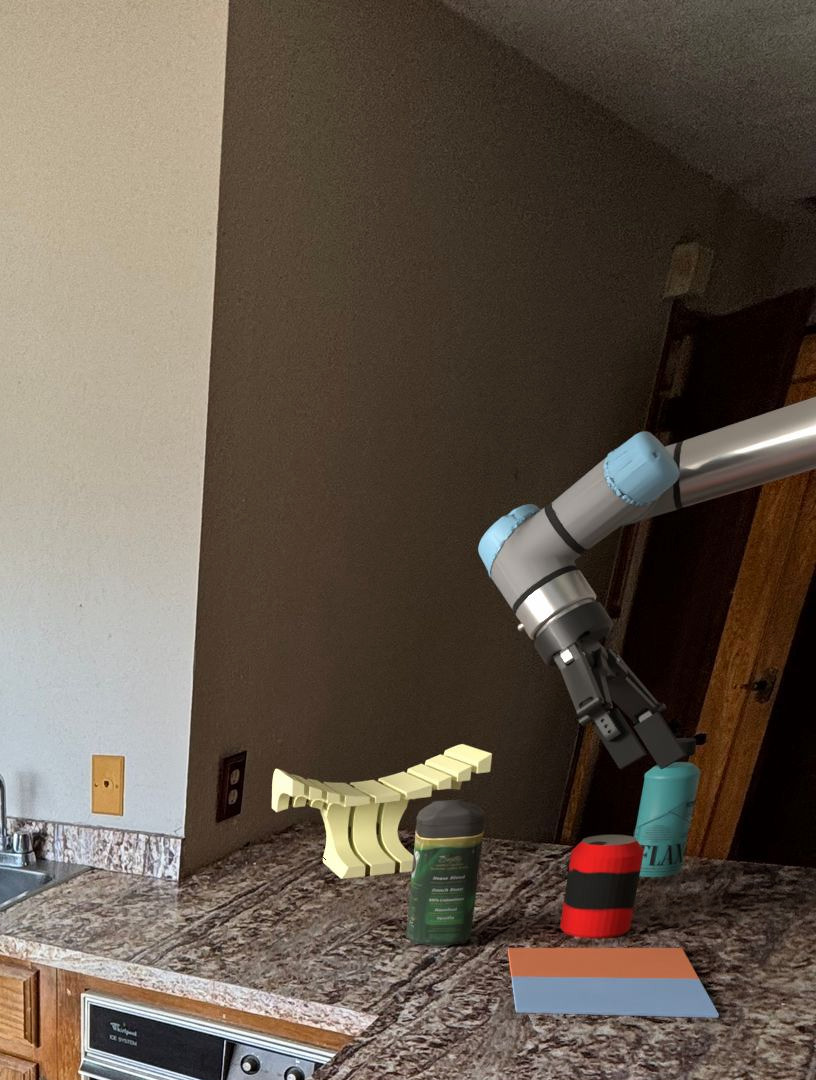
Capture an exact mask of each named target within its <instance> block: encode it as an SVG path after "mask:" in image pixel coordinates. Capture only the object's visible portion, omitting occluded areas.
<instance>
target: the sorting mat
mask: <svg viewBox="0 0 816 1080" xmlns="http://www.w3.org/2000/svg"><path fill="white" fill-rule="evenodd" d="M507 955H508V962H509V970H510V979H511V985H512V992H513V1001H514V1009H515V1013H517V1014H518V1013H519V1014H556V1015H590V1016H591V1015H593V1016H594V1015H596V1016H626V1017H627V1016H631V1017H632V1016H635V1017H666V1018H667V1017H669V1018H702V1019H703V1018H705V1019H706V1018H707V1019H708V1018H709V1019H711V1018H712V1019H718V1018H719V1016H720V1014H719V1012H718V1011H717V1008H716V1007H715V1005H714V1002H713V1001H712V999H711V997H710V996H709V994H708V992H707V990H706V989H705V986H704V985H703V983H702V981H701V980H700V978H699V975H698V974H697V973H696V970H695V969H694V967H693V965H692V963H691V961H690V960H689V958H688V956H687V954H686V952H685V950H684V949H683V947H508V948H507Z"/></svg>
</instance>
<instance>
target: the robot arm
mask: <svg viewBox="0 0 816 1080" xmlns="http://www.w3.org/2000/svg"><path fill="white" fill-rule="evenodd" d="M815 469H816V396H813V397H810V398H808V399H804V400H801V401H798V402H796V403H792V404H790V405H786V406H784V407H781V408H778V409H775V410H771V411H768V412H765V413H763V414H760V415H757V416H753V417H751V418H748V419H745V420H742V421H738V422H735V423H733V424H732V423H731V424H729V425H726V426H723V427H721V428H717V429H715V430H711V431H709V432H705V433H702V434H699V435H697V436H694V437H691V438H688V439H685V440H682V441H678V442H676V443H671V444H669V445H666V446H665V445H664V444H662V442H661V441H660V440H659V439H658V438H657V437H656V436H655V435H653V434H652V432H650V431H639V432H638V433H635V434H634V435H633V436H632V437H631V438H629V439H628V440H626V441H625V442H624V443H622V444H621V445H620V446H618V447H616V448H615V449H612V450H611V451H610V452H609V453H608V454H607V456H606V457H604V459H602V460H601V461H600V462H599V463H597V464H596V465H595V466H593V468H592V469H590V470H589V471H588V472H587V473H585V474H584V475H583V476H582V477H581V478H580V479H578V480H577V481H576V482H575V483H573V485H571V486H570V487H569V488H568V489H566V490H565V491H564V492H563V493H562V494H560V495H559V496H558V497H557V498H556V499H554V500H553V501H552V502H550V503H549V504H548V505H547V506H544V507H543V508H539V506H538V505H536V504H534V503H528V504H527V503H526V504H523V505H520V506H518V507H516V508H514V509H512V510H511V511H510V512H509V513H508V514H506V515H503V516H501V517H500V518H499V519H498V520H496V521H495V522H494V523H493V524H492V525H491V526H490V527H489V528H488V529H487V530H486V531H485V533H484V534H483V536H482V537H481V539H480V541H479V544H478V547H477V551H478V554H479V556H480V558H481V560H482V562H483V564H484V566H485V569H486V570H487V573H488V576H489V578H490V579H491V580H492V581H493V582H494V585H496V587H497V589H498V590H499V592H500V593H501V595H502V596H503V598H504V599H505V601H506V602H507V604H508V606H509V607H510V609H511V610H512V612H513V614H514V615H515V616H516V617H517V619H518V620H519V622H520V623H519V624H518V625H517V630H518V631H519V632H523V631H525V632H526V634H527V635H528V637H529V639H530V640H532V641H533V640H534V645H533V646H534V648H535V649H536V651H537V653H538V654H539V656H540V657H541V659H542V660H543V663H544V664H545V665H546V666H548V667H558V670H559V671H560V673H561V675H562V678H563V681H564V683H565V686H566V688H567V691H568V693H569V696H570V699H571V701H572V704H573V706H574V709H575V712H576V715H577V716H578V717H580V718H578V719H577V721H578V723H579V724H580V725H581V726H582V727H586V726H588V725H589V724H590V723H591V725H592V728H593V729H594V731H595V733H596V734H597V735H598V737H599V738H600V741H601V742H602V743H603V745H604V746H605V748H606V750H607V751H608V753H609V755H610V756H611V758H612V760H613V761H614V763H615V764H616V766H617V767H618V769H619V770H623V769H625V768H626V767H628V766H630V765H631V764H633V763H635V762H637V761H638V760H640V759H642V758H643V757H645V756H647V755H648V753H647V751H646V750H645V748H644V746H645V747H646V749H647V750H648V752H649V754H650V755H651V757H652V758H653V760H654V761H655V763H656V765H658V766H659V768H660V769H664V768H665V767H667V766H669V765H671V764H672V763H674V762H679V761H680V760H681V759H683V758H685V756H686V755H687V754H686V753H685V751H684V750H683V748H682V747H681V745H680V744H679V742H678V741H677V739H676V738H677V737H676V736H675V734H674V732H673V731H672V730H671V728H670V726H669V725H668V723H667V722H666V720H665V719H664V717H663V715H662V714H661V712H663V711H664V710H666V709H667V706H666V704H665V703H664V702H663V701H661V702H659V701H658V700H657V699H656V698H655V697H654V696H653V694H652V693H651V692H650V691H649V690H648V689H647V687H646V686H645V685H644V684H643V683H642V681H641V680H640V679H639V678H638V677H637V676H636V674H635V673H634V672H633V671H632V670H631V668H630V667H629V666H628V665H627V664H626V663H625V661H624V660H623V658H622V657H621V655H620V654H619V651H618V650H616V649H615V648H613V649H611V648H610V647H608V648H607V649H606V648H605V647H604V645H602V641H603V639H604V638H605V637H606V636H608V635H609V633H610V632H611V631H612V629H613V626H614V622H613V620H612V618H611V617H610V615H609V614H608V612H607V611H606V610H605V608H604V606H603V604H602V602H599V601H596V599H597V594H596V593H595V591H594V590H593V588H592V587H591V585H590V584H589V582H588V580H587V579H586V578H585V576H584V574H583V573H582V572H581V570H580V569H579V568H578V566H577V565H576V560H577V559H578V558H579V557H581V556H583V555H584V554H585V553H586V552H588V551H589V550H590V549H592V548H593V547H594V546H595V545H597V544H598V543H599V542H601V541H602V540H604V539H605V538H607V537H608V536H609V535H610V534H612V533H613V532H614V531H616V530H617V529H619V528H620V527H622V526H623V527H624V526H629V525H633V524H636V523H640V522H643V521H645V520H647V519H649V518H653V517H657V516H660V515H664V514H667V513H670V512H674V511H677V510H679V509H682V508H686V507H690V506H693V505H696V504H699V503H702V502H707V501H709V500H713V499H717V498H720V497H724V496H727V495H730V494H733V493H737V492H740V491H744V490H747V489H751V488H755V487H758V486H762V485H765V484H768V483H772V482H775V481H778V480H783V479H785V478H788V477H791V476H795V475H799V474H802V473H806V472H809V471H812V470H815ZM612 702H613V703H614V704H615V705H616V706H617V707H618V708H617V707H615V708H614V706H613V703H612ZM621 711H622V712H623V713H624V714H625V715H626V716H627V717H628V718H629V719H630V720H631V721H632V723H633V724H635V725H634V726H633V728H634V730H635V732H636V733H637V735H638V736H639V738H640V739H641V741H642V742H643V744H644V746H643V745H642V744H641V742H640V741H639V739H638V738H637V736H636V733H634V730H633V729H632V728H631V726H630V725H629V723H628V721H627V720H626V719H625V717H624V715H623V713H622V712H621ZM686 757H687V756H686Z"/></svg>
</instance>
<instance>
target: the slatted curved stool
mask: <svg viewBox="0 0 816 1080" xmlns="http://www.w3.org/2000/svg"><path fill="white" fill-rule="evenodd" d="M492 758H493V753H491V752H488V751H486V750H482V749H479V748H476V747H473V746H470V745H467V744H464V743H461V744H457V745H455V746H452V747H449V748H447V749H445V750H444V753H443V754H438V755H436V756H433V757H430V758H429V759H426V760H425V762H424V764H423V763H419V764H417V765H414V766H412V767H409V768H407V771H406V772H405V771H401V772H398V773H394V774H391V775H386V776H383V777H380V778H378V779H377V780H375V779H369V780H362V781H353V782H350V783H349V784H348V783H347V782H330V781H323V782H321V781H319V780H317V779H312V778H306V779H305V778H304V777H303V776H300V775H297V774H293V773H291V774H290V773H288V772H287V771H285V770H283V769H280V768H275V769H274V772H273V775H272V781H271V782H272V784H271V787H272V788H271V809H272V810H273V811H275V813H279V812H282V811H284V810H288V809H289V806H291V807H292V808H300V807H306V804H307V805H308V806H309V807H311V808H315V809H317V810H319V811H320V815H321V817H322V820H323V823H324V828H325V833H326V834H325V835H326V841H325V848H324V852H323V856H322V862H323V864H324V865H325V866H326V867H328V868H329V870H331V872H333V873H334V874H335V875H336V876H337V877H339V879H341V880H345V879H353V878H362V877H363V878H364V877H366V876H367V875H369V876H370V877H372V876H381V875H390V874H395V872H399V873H401V874H402V873H409V872H412V866H413V856H414V854H412V853H411V852H410V851H409V850H408V849H407V848H405V846H404V845H403V844H402V842H401V840H400V838H399V833H398V832H399V831H398V830H399V825H400V823H401V822H400V821H401V819H402V817H403V815H404V813H405V811H406V810H407V808H408V804H409V802H410V800H416V799H422V798H430V797H432V793H433V791H441V790H459V791H460V790H461V788H462V787H461V786H462V783H463V782H469V781H471V778H472V777H471V776H472V773H475V774H483V773H490V772H491V768H492ZM323 857H324V858H325V859H326V860H325V859H324V858H323Z"/></svg>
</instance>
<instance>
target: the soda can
mask: <svg viewBox="0 0 816 1080" xmlns="http://www.w3.org/2000/svg"><path fill="white" fill-rule="evenodd" d="M643 853H644V849H643V848H642V847H641V845H640V844H639V843H638V841H637V839H636V838H635V837H634V836H633V835H626V834H600V835H592V836H587V837H584V838H583V839H582V840H581V841H580V842H579V843H578V844H576V846H575V847H574V848H573V849H572V850H571V852H570V857H569V864H568V869H567V872H568V873H567V876H566V884H565V890H564V898H563V904H562V911H561V916H560V924H559V928H560V929H561V931H562V932H563V933H564V934H566V935H568V936H572V937H577V938H583V939H608V938H609V939H610V938H615V937H619V936H623V935H624V934H627V932H629V930H630V929H631V924H632V919H633V914H634V908H635V902H636V897H637V892H638V886H639V880H640V876H639V875H640V870H641V864H642V859H643Z"/></svg>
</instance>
